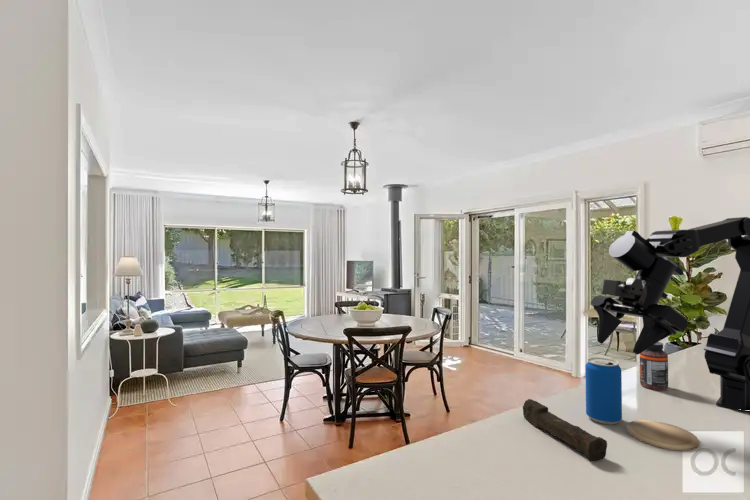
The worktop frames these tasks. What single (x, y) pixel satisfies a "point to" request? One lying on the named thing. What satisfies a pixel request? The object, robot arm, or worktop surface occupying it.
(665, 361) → the supplement bottle
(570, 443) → the hand tool
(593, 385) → the beverage can
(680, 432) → the coaster
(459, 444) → the worktop surface
